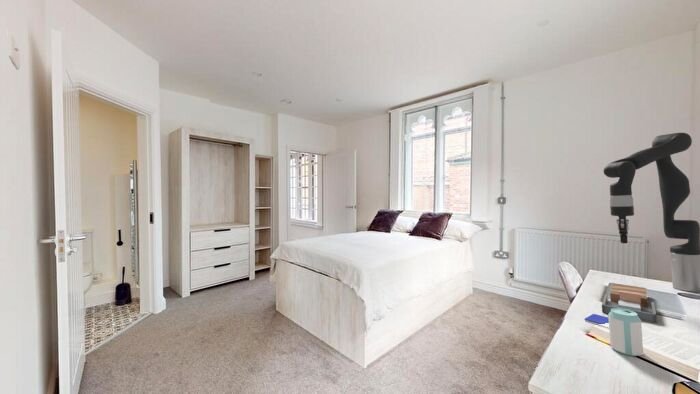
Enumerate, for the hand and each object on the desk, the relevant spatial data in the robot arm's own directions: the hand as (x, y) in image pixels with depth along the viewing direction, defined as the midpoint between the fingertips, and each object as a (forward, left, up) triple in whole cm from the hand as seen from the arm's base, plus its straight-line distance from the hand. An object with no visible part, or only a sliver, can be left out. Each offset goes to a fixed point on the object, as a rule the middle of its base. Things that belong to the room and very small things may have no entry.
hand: (624, 243), depth 123 cm
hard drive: (+32, +21, -26) cm, 46 cm away
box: (+15, +13, -25) cm, 32 cm away
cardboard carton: (+2, +2, -25) cm, 25 cm away
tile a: (+10, +9, -21) cm, 25 cm away
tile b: (+15, +13, -22) cm, 30 cm away
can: (+45, +37, -25) cm, 63 cm away
